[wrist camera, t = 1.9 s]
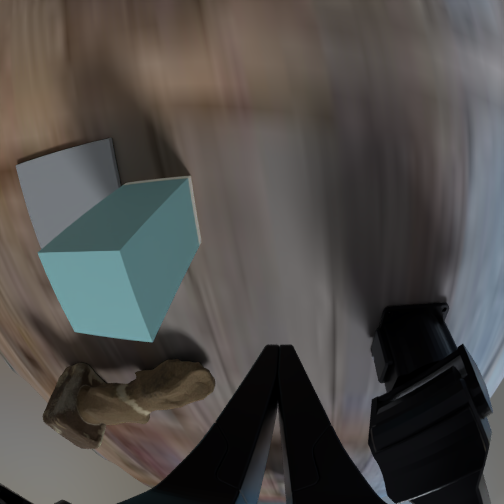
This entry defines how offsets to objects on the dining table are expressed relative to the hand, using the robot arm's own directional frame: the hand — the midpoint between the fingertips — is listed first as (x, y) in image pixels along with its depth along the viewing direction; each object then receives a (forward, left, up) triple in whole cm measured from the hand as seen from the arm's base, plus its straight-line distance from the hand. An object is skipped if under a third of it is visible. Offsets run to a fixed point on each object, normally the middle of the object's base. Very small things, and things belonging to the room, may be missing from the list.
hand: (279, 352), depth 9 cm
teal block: (+9, 0, -12) cm, 15 cm away
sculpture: (+18, +20, -13) cm, 29 cm away
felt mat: (+17, 0, -12) cm, 21 cm away
